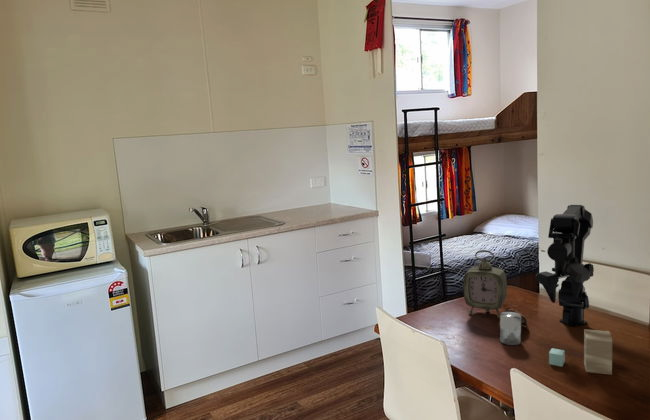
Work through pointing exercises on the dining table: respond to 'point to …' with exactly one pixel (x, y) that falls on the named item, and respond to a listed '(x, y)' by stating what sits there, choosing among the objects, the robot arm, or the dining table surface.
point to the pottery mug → (523, 319)
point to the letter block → (556, 357)
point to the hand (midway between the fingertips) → (564, 300)
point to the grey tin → (510, 328)
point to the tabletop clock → (485, 286)
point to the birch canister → (598, 351)
